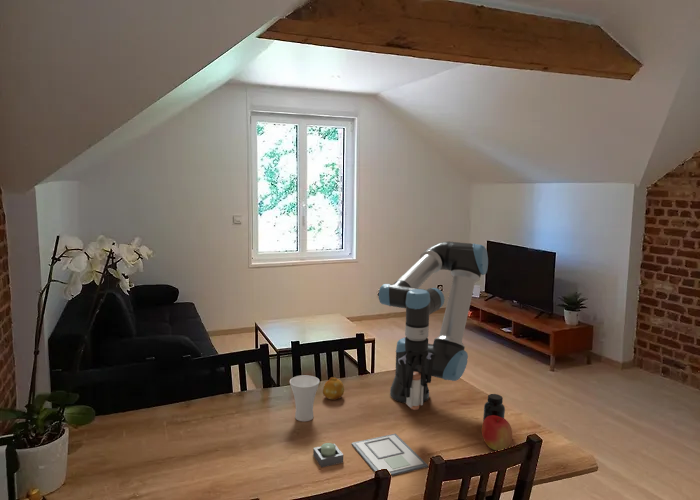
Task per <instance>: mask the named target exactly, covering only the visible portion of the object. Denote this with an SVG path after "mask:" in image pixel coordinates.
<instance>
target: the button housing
mask: <svg viewBox="0 0 700 500" xmlns="http://www.w3.org/2000/svg"><path fill="white" fill-rule="evenodd" d="M333 444H334V445H335V446H336V452H335V455H332V456H328V457H323V456H322V455H321V446H316V447H313V449H312V450H313V451H312V452H313V453H312V454H313V455H312V456H313V457H314V459H315V461H316V462H317V463H318V465H319V467H320V468H325V467H330V466H334V465H339V464H343V463H344V453H343V452H342V451H341V450H340V449H339V447H338V446H337V444H335V443H333Z"/></svg>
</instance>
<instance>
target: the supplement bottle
mask: <svg viewBox="0 0 700 500" xmlns="http://www.w3.org/2000/svg"><path fill="white" fill-rule="evenodd" d="M503 398H504V397H503V396H502V395H501V394H498V393H497V394H496V393H489V394H488V395H487V401H486V402H485V403H484V407H483V419H482V422H483V421H484V419H485V418H486V417H488V416H491V415H495V416H499V417H502V418H504V419H505V414H506V407H505V405H504V404H503V401H504V399H503Z"/></svg>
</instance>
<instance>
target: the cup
mask: <svg viewBox="0 0 700 500" xmlns="http://www.w3.org/2000/svg"><path fill="white" fill-rule="evenodd" d="M319 384H320V379H319V378H318V377H316V376H314V375H310V374H309V375H308V374H306V375H304V374H303V375H302V374H301V375H296V376H294V377H291V378H290V379H289V385H290V388H291V390H292V394H293V398H294V405H295V413H294V414H295V415H294V418H295V420H297V421H299V422H310V421H312V420H313V419H314V418H315V417H314V403H315V397H316V393H317V391H318V388H319Z"/></svg>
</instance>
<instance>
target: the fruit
mask: <svg viewBox="0 0 700 500" xmlns="http://www.w3.org/2000/svg"><path fill="white" fill-rule="evenodd" d="M344 393H345V387H344V384H343V381H342V380H340V379H338V378H337V377H335V376H331V377H330V378H329V379H328V380H327V381H325V383H324V385H323V387H322V394H323V396H324V397H325V398H326V399H328V400H332V401H333V400H334V401H335V400H338V399H340V398H342V397H343V395H344Z"/></svg>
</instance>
